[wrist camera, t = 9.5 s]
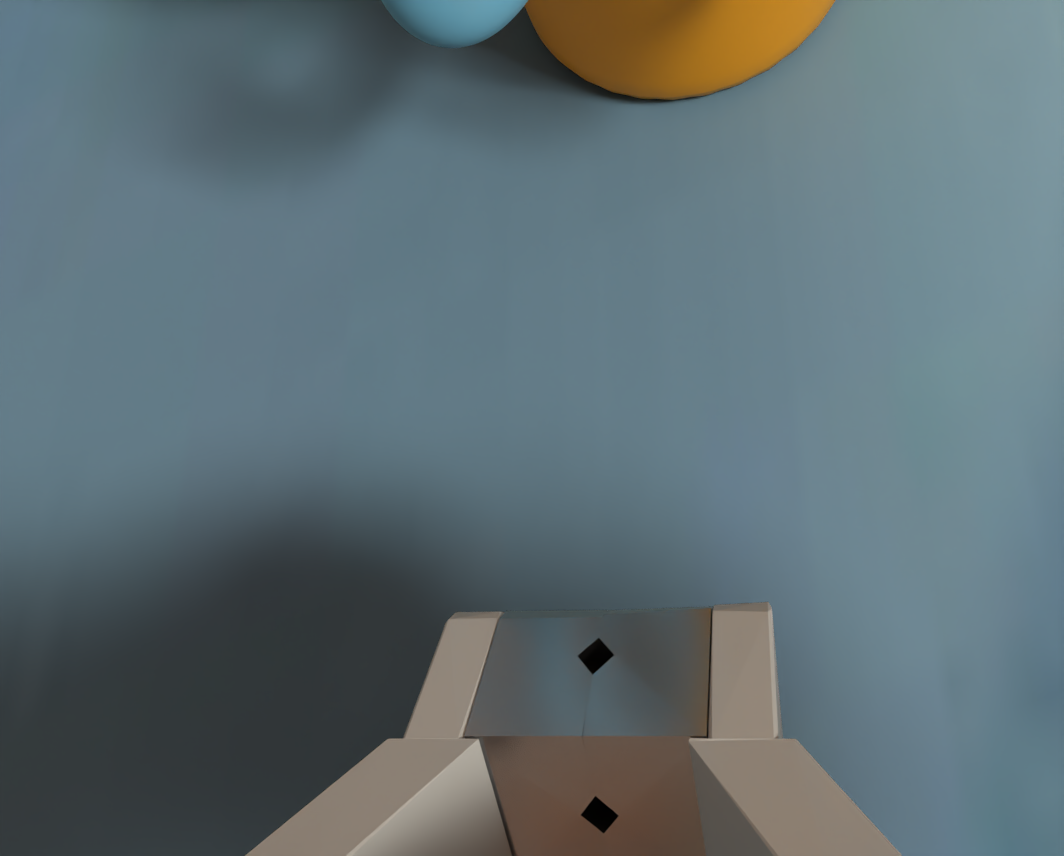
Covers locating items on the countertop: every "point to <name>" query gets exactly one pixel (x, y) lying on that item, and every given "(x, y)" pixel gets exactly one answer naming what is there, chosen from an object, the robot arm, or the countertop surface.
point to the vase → (634, 37)
